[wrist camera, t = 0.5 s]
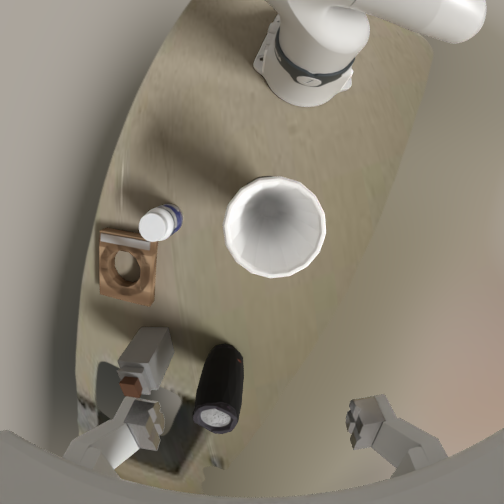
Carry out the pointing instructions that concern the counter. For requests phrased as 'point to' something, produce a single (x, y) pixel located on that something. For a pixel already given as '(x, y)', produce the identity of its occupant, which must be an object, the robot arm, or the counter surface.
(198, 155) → the counter surface
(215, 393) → the portable speaker
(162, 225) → the pill bottle
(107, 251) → the jig
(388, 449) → the robot arm
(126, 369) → the perfume bottle
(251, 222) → the cup
